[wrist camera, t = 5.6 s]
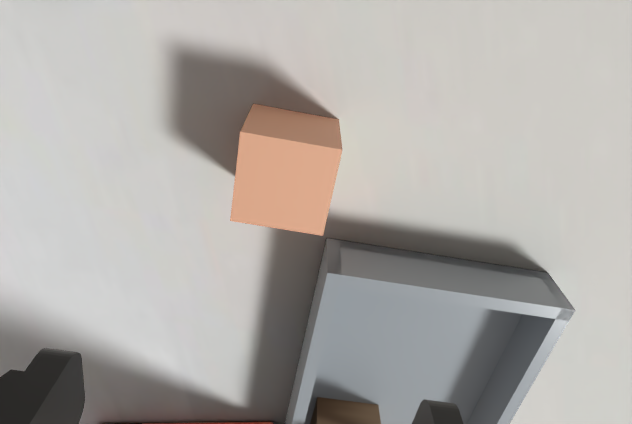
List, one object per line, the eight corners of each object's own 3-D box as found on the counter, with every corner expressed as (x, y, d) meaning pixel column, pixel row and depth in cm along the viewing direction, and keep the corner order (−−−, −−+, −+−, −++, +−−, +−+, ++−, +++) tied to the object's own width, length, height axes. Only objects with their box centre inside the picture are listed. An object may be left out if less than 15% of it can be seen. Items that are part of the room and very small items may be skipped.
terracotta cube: (243, 181, 26) (230, 220, 22) (253, 103, 24) (240, 131, 20) (322, 194, 26) (323, 235, 22) (338, 118, 24) (342, 149, 20)
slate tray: (279, 446, 37) (275, 490, 34) (326, 237, 28) (327, 272, 25) (447, 466, 38) (458, 511, 35) (547, 272, 29) (575, 310, 26)
